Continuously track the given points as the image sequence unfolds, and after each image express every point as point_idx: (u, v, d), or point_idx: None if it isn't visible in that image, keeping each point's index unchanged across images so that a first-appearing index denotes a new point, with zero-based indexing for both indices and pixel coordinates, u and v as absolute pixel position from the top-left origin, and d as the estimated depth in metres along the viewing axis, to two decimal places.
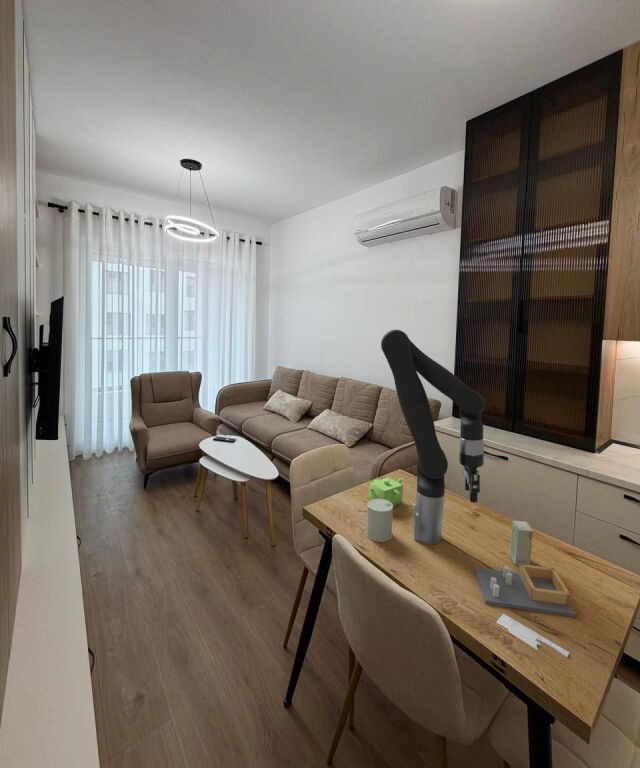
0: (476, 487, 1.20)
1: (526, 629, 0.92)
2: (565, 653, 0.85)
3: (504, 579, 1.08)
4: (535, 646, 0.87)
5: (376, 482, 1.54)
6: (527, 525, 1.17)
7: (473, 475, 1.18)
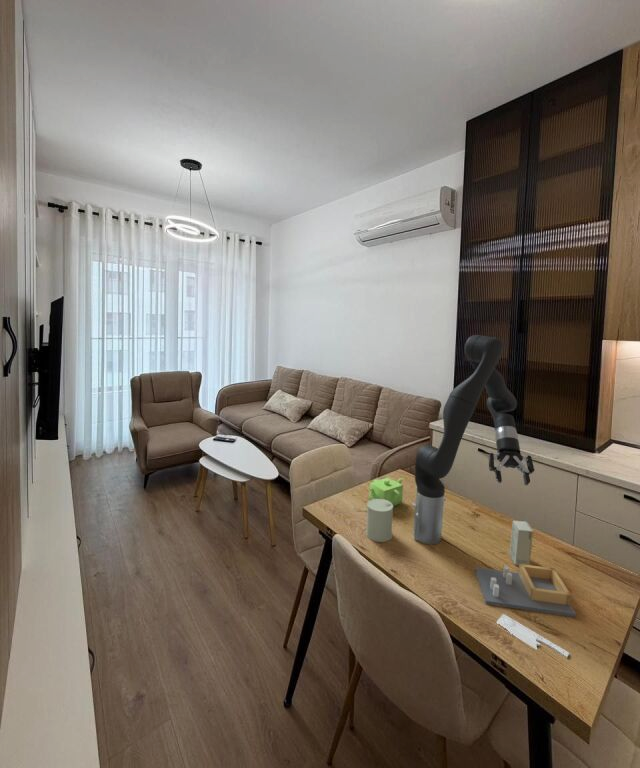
0: None
1: (526, 630, 0.91)
2: (565, 653, 0.85)
3: (504, 579, 1.08)
4: (535, 646, 0.87)
5: (376, 482, 1.54)
6: (527, 525, 1.17)
7: None
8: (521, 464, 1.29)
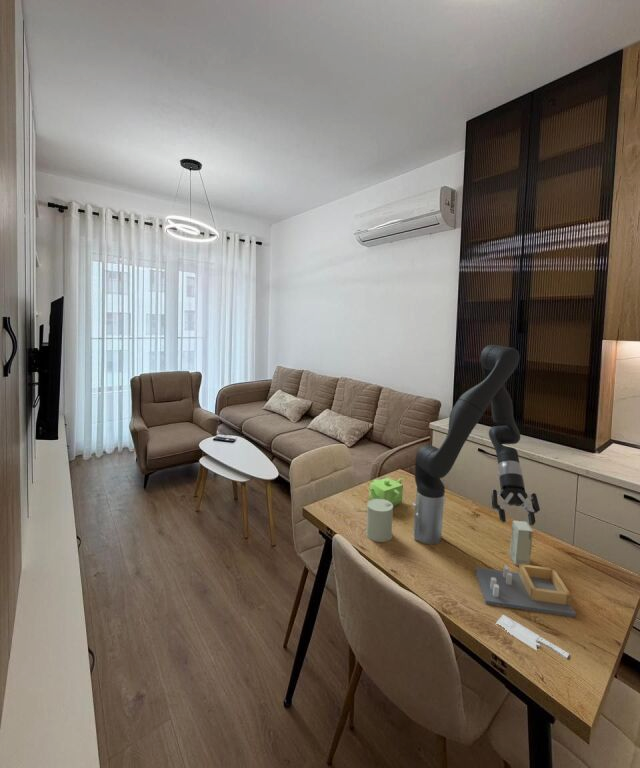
0: None
1: (526, 630, 0.91)
2: (565, 654, 0.85)
3: (504, 579, 1.08)
4: (535, 647, 0.87)
5: (376, 482, 1.54)
6: (527, 525, 1.17)
7: None
8: (526, 503, 1.23)
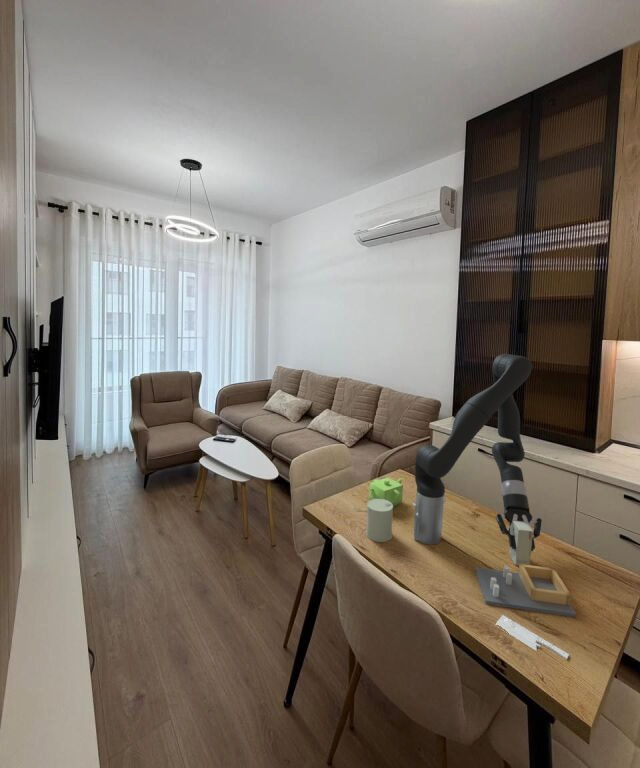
0: None
1: (525, 631, 0.91)
2: (565, 655, 0.85)
3: (504, 579, 1.08)
4: (535, 648, 0.87)
5: (376, 482, 1.54)
6: (527, 525, 1.17)
7: None
8: None
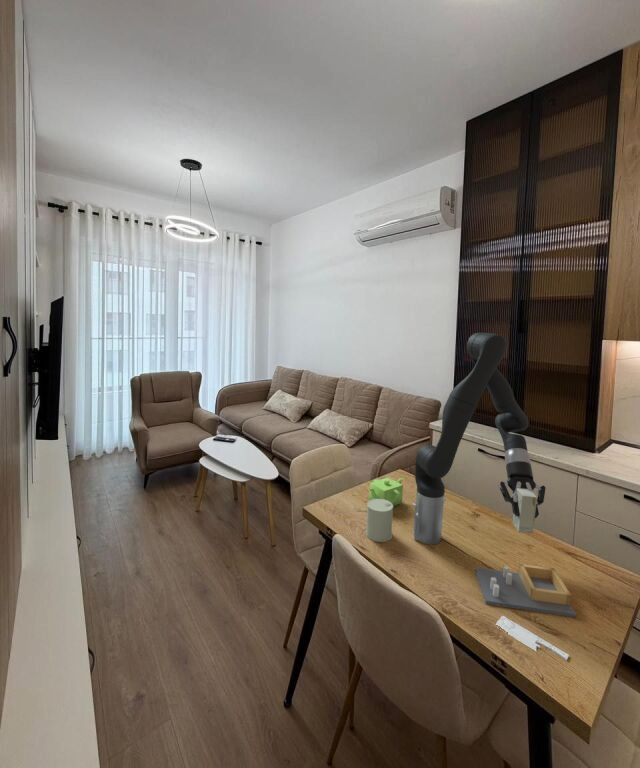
0: None
1: (525, 632, 0.91)
2: (565, 656, 0.85)
3: (504, 579, 1.08)
4: (534, 649, 0.87)
5: (376, 482, 1.54)
6: (531, 492, 1.15)
7: None
8: None
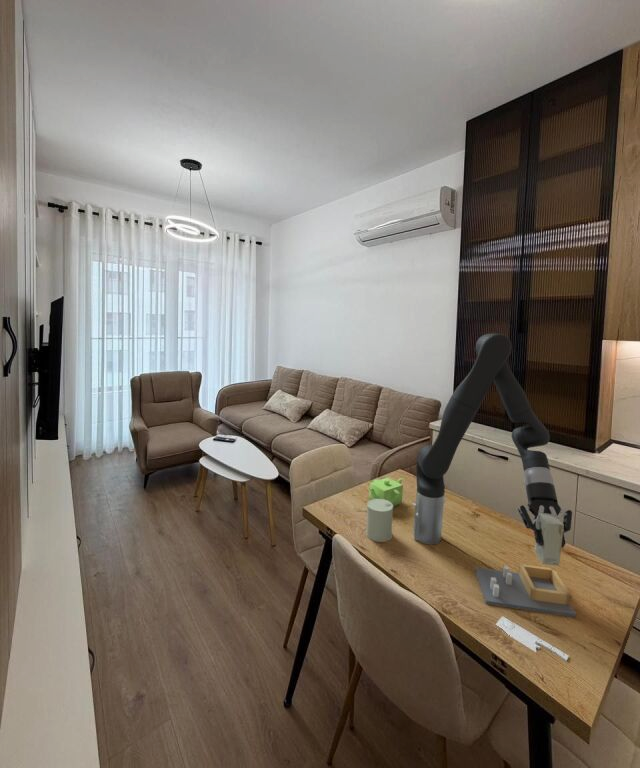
0: None
1: (525, 632, 0.91)
2: (565, 656, 0.84)
3: (504, 579, 1.08)
4: (534, 649, 0.86)
5: (376, 482, 1.54)
6: (556, 518, 1.02)
7: None
8: None
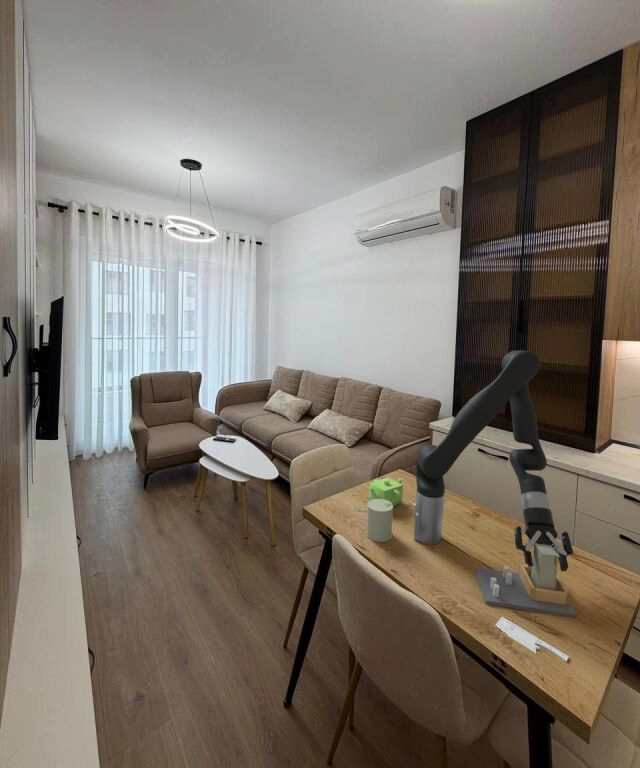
0: None
1: (525, 633, 0.91)
2: (564, 657, 0.84)
3: (504, 579, 1.08)
4: (534, 650, 0.86)
5: (376, 482, 1.54)
6: (551, 548, 1.04)
7: None
8: (556, 544, 1.04)
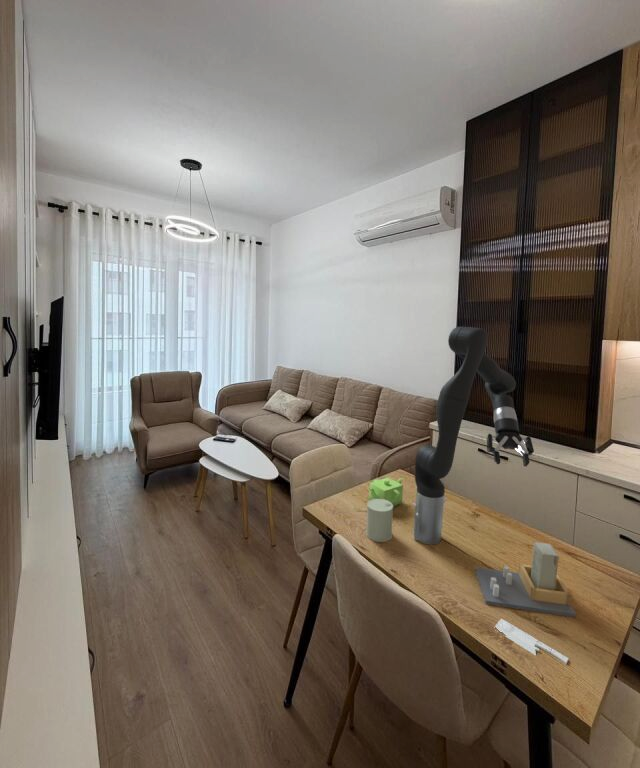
0: (524, 452, 1.26)
1: (524, 635, 0.90)
2: (564, 659, 0.84)
3: (504, 579, 1.08)
4: (534, 652, 0.86)
5: (376, 482, 1.54)
6: (551, 548, 1.04)
7: None
8: (520, 445, 1.25)
